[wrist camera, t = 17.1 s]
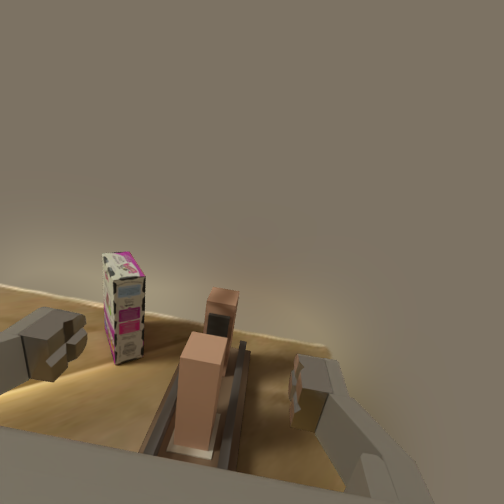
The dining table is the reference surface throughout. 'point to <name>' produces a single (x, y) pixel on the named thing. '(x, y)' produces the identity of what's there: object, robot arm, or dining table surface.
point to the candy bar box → (124, 306)
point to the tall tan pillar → (198, 389)
